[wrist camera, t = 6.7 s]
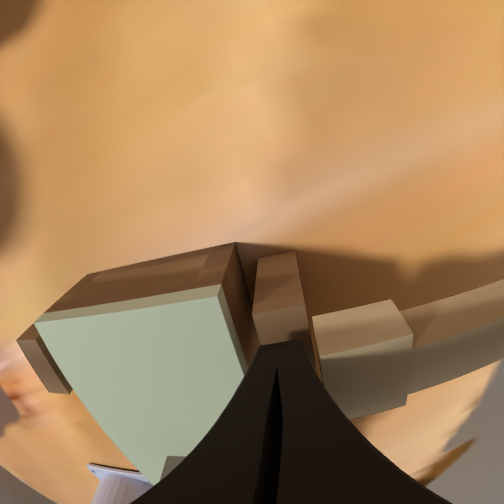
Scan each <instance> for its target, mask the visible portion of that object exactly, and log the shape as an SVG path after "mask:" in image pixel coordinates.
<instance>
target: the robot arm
mask: <svg viewBox="0 0 504 504" xmlns="http://www.w3.org/2000/svg"><path fill="white" fill-rule="evenodd" d="M87 468H88V469H89V470H90V471H91V472H92V473H93V474H94V475H95V476H96V477H97V478H98V479H100V483H99V485H98V487H97V490H96V492H95V495H94V497H93V499H92V502H91V504H452V503H450V502H448V501H447V500H445V499H444V498H442V497H440V496H438V495H437V494H435V493H434V492H432V491H430V490H429V489H427V488H426V487H424V486H423V485H421V484H420V483H418V482H417V481H416V480H414V479H413V478H412V477H410V476H409V475H408V474H406V473H405V472H403V471H402V470H401V469H400V468H398V467H397V466H396V465H395V464H394V463H393V462H391V461H390V460H389V459H388V458H387V457H386V456H384V455H383V454H382V453H381V452H380V451H379V450H378V449H376V448H375V447H374V446H373V445H372V444H371V443H370V442H369V441H368V440H367V439H366V438H365V437H364V436H363V435H362V434H361V433H360V432H359V431H358V429H357V428H356V427H355V426H354V425H353V424H352V423H351V422H350V420H349V419H348V418H347V417H346V416H345V414H344V413H343V412H342V411H341V409H340V408H339V407H338V406H337V404H336V403H335V402H334V400H333V399H332V398H331V396H330V395H329V393H328V392H327V390H326V389H325V387H324V386H323V384H322V382H321V381H320V379H319V378H318V376H317V374H316V373H315V371H314V369H313V367H312V365H311V363H310V361H309V359H308V357H307V355H306V352H305V349H304V345H303V341H301V340H299V339H296V340H290V341H285V342H279V343H273V344H267V345H260V346H259V347H258V348H257V350H256V352H255V354H254V357H253V359H252V361H251V363H250V365H249V367H248V369H247V371H246V373H245V375H244V377H243V379H242V381H241V383H240V384H239V386H238V388H237V390H236V391H235V393H234V395H233V397H232V398H231V400H230V401H229V403H228V404H227V406H226V407H225V409H224V410H223V412H222V413H221V415H220V416H219V418H218V419H217V421H216V422H215V423H214V425H213V426H212V427H211V429H210V430H209V431H208V433H207V434H206V435H205V436H204V438H203V439H202V440H201V441H200V442H199V443H198V445H197V446H196V447H195V448H194V449H193V450H192V451H191V452H190V453H189V454H188V455H187V456H186V457H185V458H184V459H183V460H182V461H181V462H180V463H179V464H178V465H177V466H176V467H175V468H174V469H173V470H172V471H171V472H170V473H169V474H168V475H167V476H165V477H164V478H163V479H162V480H160V481H159V482H158V483H157V484H155V485H152V484H151V483H150V482H149V481H148V480H147V479H146V478H145V477H144V476H143V474H142V473H141V472H133V471H127V470H120V469H114V468H109V467H103V466H98V465H93V464H87Z"/></svg>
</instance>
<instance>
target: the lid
mask: <svg viewBox="0 0 504 504" xmlns="http://www.w3.org/2000/svg"><path fill="white" fill-rule="evenodd" d="M34 324H35V326H36V328H37V330H38V332H39V334H40V336H41V338H42V339H43V341H44V343H45V345H46V347H47V348H48V350H49V352H50V353H51V355H52V357H53V359H54V360H55V362H56V363H57V365H58V367H59V368H60V370H61V372H62V373H63V375H64V376H65V378H66V379H67V381H68V382H69V384H70V385H71V387H72V388H73V390H74V391H75V393H76V394H77V396H78V397H79V399H80V400H81V401H82V403H83V404H84V406H85V407H86V408H87V410H88V411H89V412H90V414H91V415H92V416H93V418H94V419H95V420H96V422H97V423H98V424H99V425H100V427H101V428H102V429H103V430H104V432H105V433H106V434H107V435H108V437H109V438H110V439H111V440H112V441H113V443H114V444H115V445H116V446H117V447H118V448H119V450H120V451H121V452H122V453H123V454H124V455H125V456H126V457H127V459H128V460H129V461H130V462H131V463H132V464H133V465H134V466H135V467H136V468H137V469H138V470H139V471H140V472H141V473H142V474H143V476H144V477H145V478H146V479H147V480H148V481H149V482H150V483H151V484H152V485H155V484H157V483H158V482H159V481H160V480H162V479H163V478H164V477H165V476H167V475H168V474H169V473H170V472H171V471H172V470H173V469H174V468H175V467H176V466H177V465H178V464H179V463H180V462H181V461H182V460H183V459H184V458H185V457H186V456H187V455H188V454H189V453H190V452H191V451H192V450H193V449H194V448H195V447H196V446H197V445H198V443H199V442H200V441H201V440H202V439H203V438H204V436H205V435H206V434H207V433H208V431H209V430H210V429H211V427H212V426H213V425H214V423H215V422H216V421H217V419H218V418H219V416H220V415H221V413H222V412H223V410H224V409H225V407H226V406H227V404H228V403H229V401H230V400H231V398H232V397H233V395H234V393H235V391H236V390H237V388H238V386H239V384H240V383H241V381H242V379H243V377H244V375H245V373H246V371H247V369H248V366H247V363H246V360H245V357H244V354H243V351H242V348H241V345H240V342H239V339H238V336H237V333H236V330H235V326H234V323H233V320H232V317H231V314H230V311H229V308H228V304H227V301H226V298H225V295H224V291H223V288H222V285H221V284H218V285H212V286H207V287H201V288H196V289H190V290H184V291H179V292H173V293H167V294H161V295H156V296H150V297H144V298H138V299H132V300H126V301H120V302H113V303H107V304H101V305H94V306H88V307H82V308H75V309H68V310H62V311H55V312H48V313H43V314H42V315H41V316H40V317H39V318H38V319H37V320H36V321H35V322H34Z"/></svg>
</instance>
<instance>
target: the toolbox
mask: <svg viewBox="0 0 504 504" xmlns="http://www.w3.org/2000/svg"><path fill="white" fill-rule="evenodd" d="M218 284H221V285H222V288H223V291H224V295H225V298H226V301H227V304H228V308H229V311H230V314H231V317H232V320H233V323H234V326H235V330H236V333H237V336H238V339H239V342H240V345H241V348H242V351H243V354H244V357H245V360H246V363H247V366H248V367H249V365H250V363H251V361H252V359H253V357H254V354H255V352H256V350H257V348H258V347H259V346H260V345H267V344H273V343H279V342H285V341H290V340H296V339H299V340H301V341H303V345H304V349H305V352H306V355H307V357H308V359H309V361H310V363H311V365H312V367H313V369H314V371H315V373H316V374H317V371H316V365H315V359H314V353H313V347H312V341H311V335H310V329H309V323H308V317H307V312H306V306H305V301H304V295H303V290H302V285H301V280H300V274H299V269H298V264H297V259H296V254H295V250H294V251H290V252H285V253H280V254H275V255H270V256H265V257H260V258H258V265H257V274H256V283H255V292H254V301H253V306H252V302H251V299H250V295H249V291H248V288H247V284H246V280H245V277H244V273H243V269H242V266H241V262H240V258H239V254H238V251H237V247H236V243H235V242H234V243H229V244H224V245H220V246H215V247H210V248H205V249H201V250H196V251H191V252H187V253H182V254H178V255H173V256H168V257H164V258H159V259H155V260H150V261H146V262H141V263H137V264H132V265H128V266H123V267H119V268H114V269H110V270H105V271H101V272H96V273H92V274H88V275H86V276H85V277H84V278H83V279H81V280H80V281H79V282H78V283H77V284H76V285H75V286H73V287H72V288H71V289H70V290H69V291H68V292H67V293H65V294H64V295H63V296H62V297H61V298H60V299H59V300H58V301H57V302H55V303H54V304H53V305H52V306H51V307H50V308H49V309H48V310H47V311H46V312H44V313H48V312H55V311H62V310H68V309H75V308H82V307H88V306H94V305H101V304H107V303H113V302H120V301H126V300H132V299H138V298H144V297H150V296H156V295H161V294H167V293H173V292H179V291H184V290H190V289H196V288H201V287H207V286H212V285H218ZM16 341H17V343H18V344H19V346H20V348H21V350H22V351H23V353H24V355H25V356H26V358H27V360H28V361H29V363H30V364H31V366H32V368H33V369H34V371H35V372H36V374H37V375H38V377H39V379H40V380H41V382H42V383H43V384H44V386H45V387H46V389H47V390H48V392H51V393H61V394H70V393H71V391H72V390H73V388H72V387H71V385H70V384H69V382H68V381H67V379H66V378H65V376H64V375H63V373H62V372H61V370H60V368H59V367H58V365H57V363H56V362H55V360H54V359H53V357H52V355H51V353H50V352H49V350H48V348H47V347H46V345H45V343H44V341H43V339H42V338H41V336H40V334H39V332H38V330H37V328H36V326H35V324H34V323H33V324H32V325H31V326H30V327H29V328H28V329H27V330H26V331H25V332H24V333H23V334H22V335H21V336H20V337H19V338H18V339H17V340H16Z"/></svg>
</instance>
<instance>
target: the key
mask: <svg viewBox="0 0 504 504" xmlns="http://www.w3.org/2000/svg"><path fill="white" fill-rule="evenodd" d="M312 320H313V326H314V332H315V338H316V344H317V351H318V357H319V364H320V371H321V377H322V384H323V386H324V387H325V389H326V390H327V392H328V393H329V395H330V396H331V398H332V399H333V400H334V402H335V403H336V404H337V406H338V407H339V408H340V409H341V411H342V412H343V413H344V414H345V416H346V417H347V418H348V419H349V420H350V419H354V418H359V417H363V416H367V415H371V414H375V413H379V412H383V411H387V410H390V409H394V408H397V407H401V406H404V405H406V400H407V395H408V394H411V393H414V392H417V391H420V390H424V389H427V388H430V387H433V386H435V385H438V384H441V383H444V382H447V381H449V380H452V379H455V378H457V377H460V376H463V375H465V374H468V373H470V372H472V371H475V370H477V369H480V368H482V367H484V366H487V365H489V364H491V363H493V362H495V361H498V360H500V359H502V358H504V279H502V280H499V281H497V282H494V283H491V284H488V285H485V286H482V287H479V288H476V289H473V290H470V291H467V292H464V293H461V294H457V295H454V296H451V297H448V298H444V299H441V300H438V301H434V302H431V303H427V304H424V305H420V306H416V307H413V308H409V309H405V310H401V311H399V310H398V309H397V307H396V306H395V304H394V303H393V301H392V300H391V299H389V300H385V301H381V302H376V303H372V304H368V305H364V306H359V307H355V308H350V309H346V310H341V311H336V312H332V313H327V314H322V315H317V316H312Z"/></svg>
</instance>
